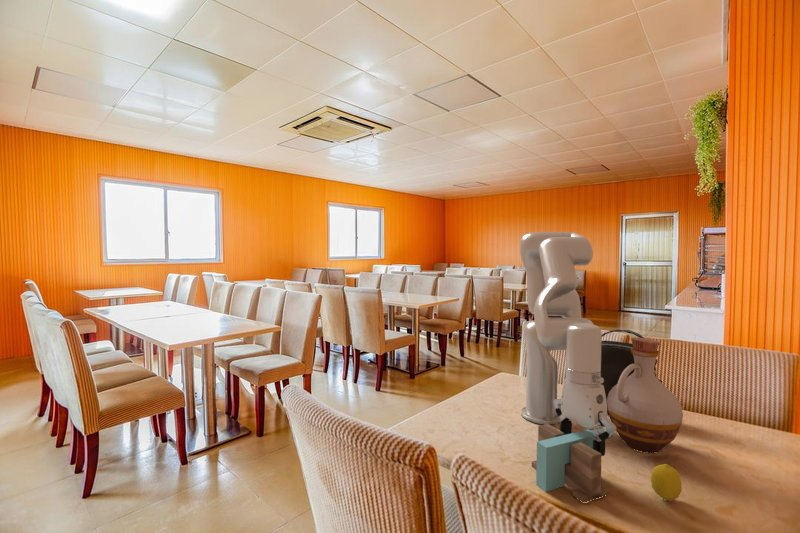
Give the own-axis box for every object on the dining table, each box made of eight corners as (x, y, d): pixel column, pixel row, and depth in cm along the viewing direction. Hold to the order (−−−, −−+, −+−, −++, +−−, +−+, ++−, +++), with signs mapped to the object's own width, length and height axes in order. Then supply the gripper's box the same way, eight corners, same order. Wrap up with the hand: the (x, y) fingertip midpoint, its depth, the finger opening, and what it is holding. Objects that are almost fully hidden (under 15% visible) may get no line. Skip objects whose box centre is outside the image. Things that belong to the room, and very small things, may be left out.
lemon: (644, 493, 88) (645, 458, 88) (667, 491, 89) (668, 457, 88) (663, 509, 83) (664, 472, 82) (687, 507, 83) (689, 470, 83)
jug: (649, 471, 97) (653, 350, 95) (587, 439, 113) (589, 336, 111) (696, 454, 105) (700, 342, 104) (632, 426, 121) (634, 330, 120)
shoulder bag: (662, 416, 129) (665, 331, 127) (661, 426, 121) (663, 336, 120) (587, 400, 142) (589, 323, 141) (582, 409, 135) (583, 327, 133)
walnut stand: (552, 460, 102) (553, 422, 101) (607, 496, 87) (608, 451, 87) (531, 466, 99) (532, 427, 99) (583, 504, 84) (584, 458, 84)
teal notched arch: (587, 469, 98) (587, 429, 97) (597, 476, 95) (598, 434, 94) (536, 484, 91) (536, 441, 91) (545, 492, 89) (546, 447, 88)
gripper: (627, 385, 87) (625, 460, 88) (566, 364, 103) (565, 428, 104) (603, 390, 84) (601, 468, 85) (544, 367, 100) (543, 433, 101)
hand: (581, 446), depth 95 cm, fingers open, 9 cm apart
